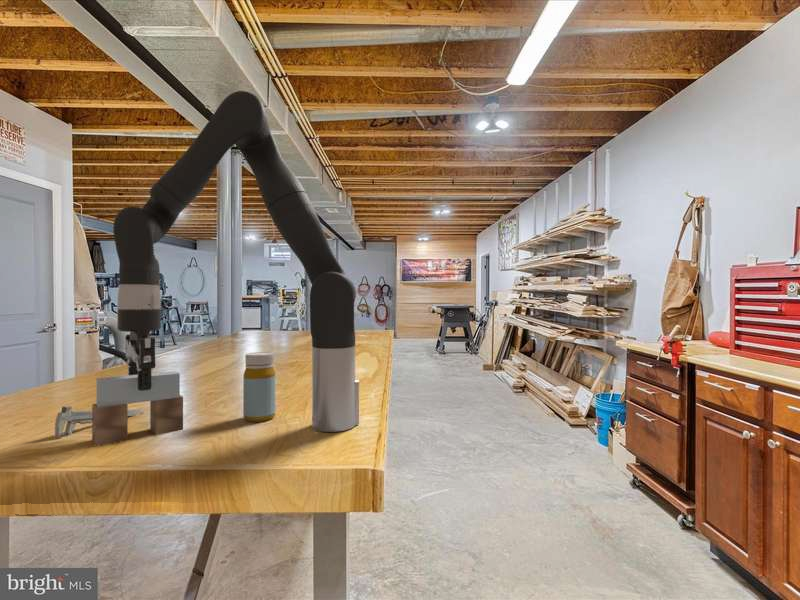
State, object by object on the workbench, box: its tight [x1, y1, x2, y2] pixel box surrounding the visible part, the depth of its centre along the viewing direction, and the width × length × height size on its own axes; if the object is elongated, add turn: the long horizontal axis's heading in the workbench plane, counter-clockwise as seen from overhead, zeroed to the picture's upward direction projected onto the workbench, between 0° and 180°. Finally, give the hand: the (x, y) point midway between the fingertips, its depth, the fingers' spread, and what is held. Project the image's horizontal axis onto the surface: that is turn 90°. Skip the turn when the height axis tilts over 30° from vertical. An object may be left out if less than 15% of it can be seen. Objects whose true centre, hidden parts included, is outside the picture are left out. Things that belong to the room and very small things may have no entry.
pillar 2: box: [149, 394, 184, 436], centre depth 89 cm, size 5×5×7 cm
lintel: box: [96, 370, 181, 408], centre depth 85 cm, size 14×4×5 cm, turn 128°
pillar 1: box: [91, 403, 129, 447], centre depth 82 cm, size 5×5×7 cm
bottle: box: [242, 351, 276, 423], centre depth 97 cm, size 7×7×15 cm
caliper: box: [54, 405, 145, 439], centre depth 93 cm, size 20×1×6 cm, turn 166°
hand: (139, 386), depth 85 cm, fingers open, 8 cm apart
